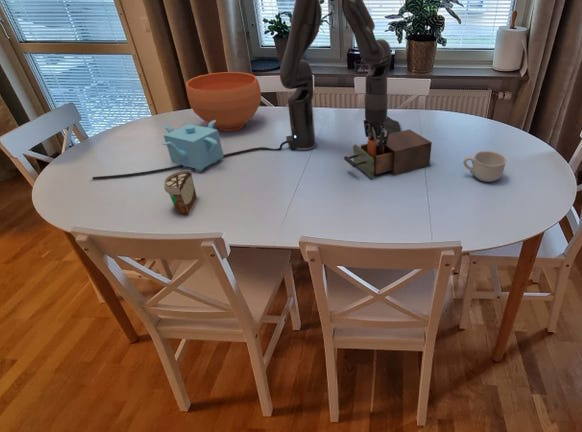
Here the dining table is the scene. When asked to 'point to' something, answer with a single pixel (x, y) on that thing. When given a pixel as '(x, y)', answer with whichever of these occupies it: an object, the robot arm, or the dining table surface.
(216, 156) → the teakettle
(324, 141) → the dining table surface
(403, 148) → the cabinet
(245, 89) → the bowl
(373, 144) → the block
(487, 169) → the teacup
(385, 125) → the dark slate chunk
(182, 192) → the brown and cream wedge
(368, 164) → the drawer
